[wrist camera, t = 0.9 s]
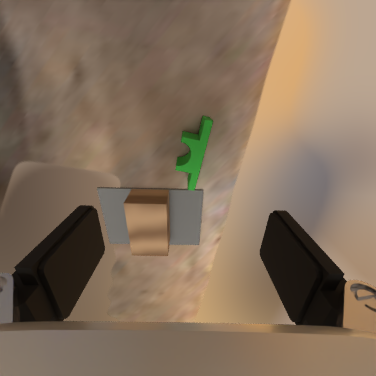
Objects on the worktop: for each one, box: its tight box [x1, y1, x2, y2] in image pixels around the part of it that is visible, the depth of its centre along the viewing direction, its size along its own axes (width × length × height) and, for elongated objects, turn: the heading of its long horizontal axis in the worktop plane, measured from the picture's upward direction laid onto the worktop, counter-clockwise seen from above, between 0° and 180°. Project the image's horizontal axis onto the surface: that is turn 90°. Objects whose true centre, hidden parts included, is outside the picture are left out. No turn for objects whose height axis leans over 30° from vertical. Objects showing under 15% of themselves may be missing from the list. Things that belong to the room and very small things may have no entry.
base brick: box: [123, 189, 170, 256], centre depth 35 cm, size 12×7×5 cm, turn 178°
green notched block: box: [176, 116, 213, 191], centre depth 29 cm, size 11×4×5 cm, turn 168°
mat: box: [97, 187, 203, 245], centre depth 37 cm, size 14×20×1 cm
